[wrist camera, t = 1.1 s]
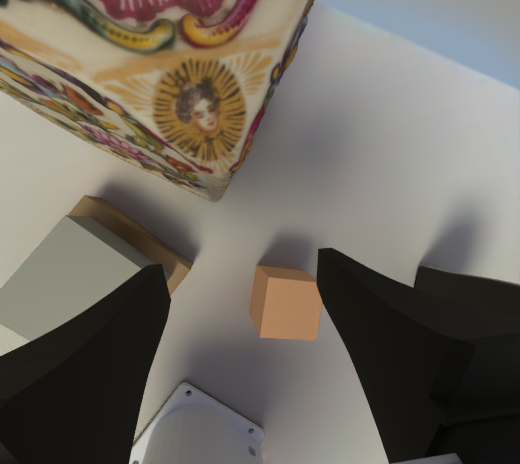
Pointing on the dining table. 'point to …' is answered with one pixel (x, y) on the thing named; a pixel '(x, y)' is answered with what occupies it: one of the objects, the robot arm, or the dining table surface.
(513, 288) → the battery charger
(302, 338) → the block
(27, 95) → the decorative jar
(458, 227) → the dining table surface
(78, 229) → the top slab
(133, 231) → the bottom slab
